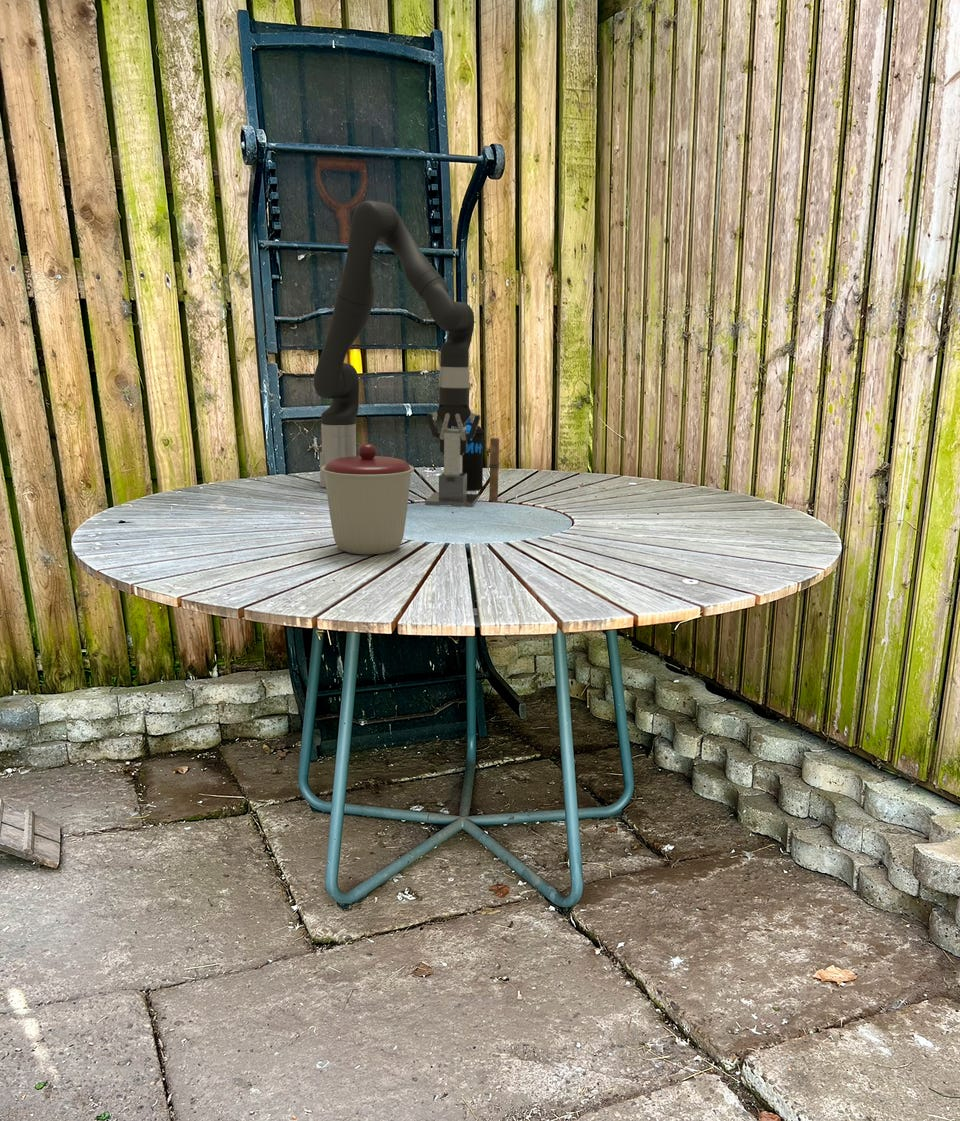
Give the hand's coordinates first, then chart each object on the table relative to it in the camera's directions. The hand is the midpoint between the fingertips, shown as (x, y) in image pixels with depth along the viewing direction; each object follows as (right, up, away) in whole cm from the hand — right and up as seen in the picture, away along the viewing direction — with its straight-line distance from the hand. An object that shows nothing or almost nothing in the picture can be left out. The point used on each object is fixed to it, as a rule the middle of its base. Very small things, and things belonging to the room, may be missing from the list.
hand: (453, 454), depth 226 cm
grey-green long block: (0, -9, +2) cm, 9 cm away
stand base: (0, -12, +3) cm, 12 cm away
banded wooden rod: (+10, -11, +6) cm, 16 cm away
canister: (-16, -25, -47) cm, 55 cm away
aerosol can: (+4, -7, +22) cm, 24 cm away
